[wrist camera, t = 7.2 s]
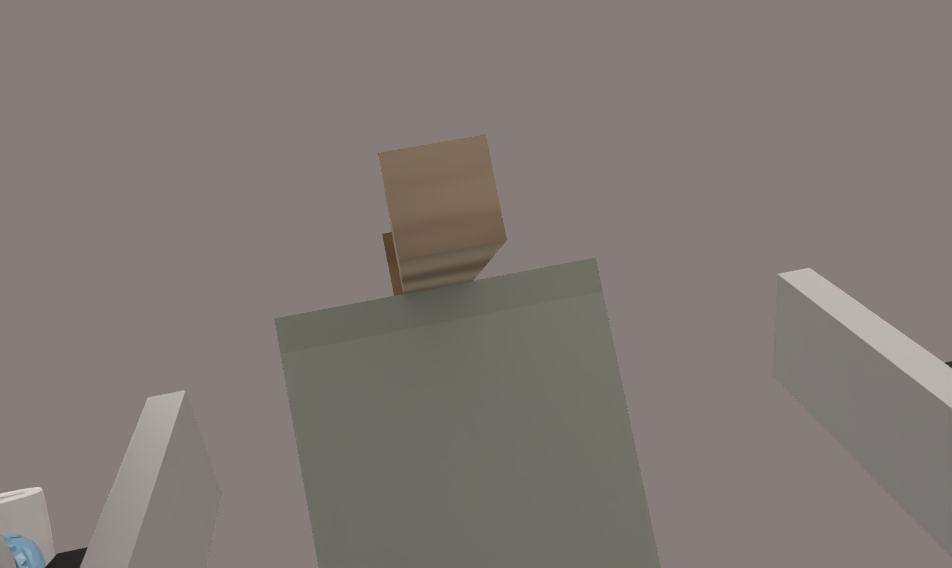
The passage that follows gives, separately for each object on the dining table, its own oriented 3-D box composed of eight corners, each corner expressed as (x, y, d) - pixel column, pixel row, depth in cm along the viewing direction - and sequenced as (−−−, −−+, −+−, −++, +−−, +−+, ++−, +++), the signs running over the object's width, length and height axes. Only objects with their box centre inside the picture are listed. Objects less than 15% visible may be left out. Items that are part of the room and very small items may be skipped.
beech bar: (397, 311, 44) (384, 244, 45) (464, 298, 45) (451, 232, 45) (380, 263, 20) (353, 120, 21) (524, 237, 21) (496, 96, 21)
